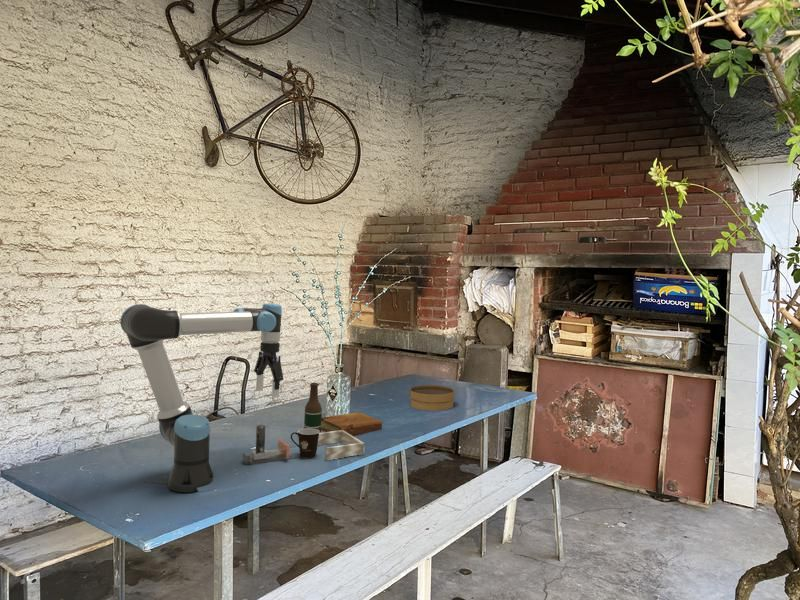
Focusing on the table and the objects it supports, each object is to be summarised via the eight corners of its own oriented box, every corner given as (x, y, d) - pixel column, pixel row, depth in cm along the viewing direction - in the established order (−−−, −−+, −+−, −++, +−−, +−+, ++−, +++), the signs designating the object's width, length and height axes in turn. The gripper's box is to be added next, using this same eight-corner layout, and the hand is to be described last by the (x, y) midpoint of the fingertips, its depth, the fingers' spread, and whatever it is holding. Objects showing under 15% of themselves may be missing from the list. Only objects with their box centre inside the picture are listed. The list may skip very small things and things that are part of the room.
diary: (340, 440, 256) (341, 427, 256) (319, 429, 271) (319, 417, 270) (381, 432, 271) (382, 420, 270) (358, 423, 285) (359, 411, 285)
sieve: (400, 408, 317) (400, 388, 316) (427, 401, 336) (428, 382, 335) (435, 417, 301) (436, 396, 300) (462, 410, 320) (463, 390, 319)
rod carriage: (256, 462, 217) (257, 430, 216) (248, 454, 226) (249, 423, 225) (289, 457, 224) (290, 426, 223) (280, 450, 233) (281, 420, 232)
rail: (246, 465, 218) (246, 456, 218) (242, 461, 222) (242, 452, 222) (292, 458, 228) (292, 449, 228) (288, 455, 231) (288, 446, 231)
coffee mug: (322, 456, 232) (323, 431, 232) (305, 460, 226) (306, 435, 225) (305, 448, 240) (306, 425, 240) (288, 453, 234) (289, 429, 233)
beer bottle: (314, 431, 265) (316, 380, 264) (324, 435, 260) (326, 383, 258) (300, 434, 260) (302, 382, 258) (310, 439, 254) (312, 385, 253)
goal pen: (326, 460, 227) (327, 448, 227) (306, 445, 244) (307, 434, 244) (364, 455, 236) (364, 443, 236) (342, 441, 253) (343, 430, 253)
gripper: (294, 345, 223) (290, 399, 224) (264, 337, 242) (261, 387, 243) (277, 346, 218) (273, 401, 219) (247, 338, 237) (244, 388, 238)
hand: (267, 394), depth 231 cm, fingers open, 13 cm apart
